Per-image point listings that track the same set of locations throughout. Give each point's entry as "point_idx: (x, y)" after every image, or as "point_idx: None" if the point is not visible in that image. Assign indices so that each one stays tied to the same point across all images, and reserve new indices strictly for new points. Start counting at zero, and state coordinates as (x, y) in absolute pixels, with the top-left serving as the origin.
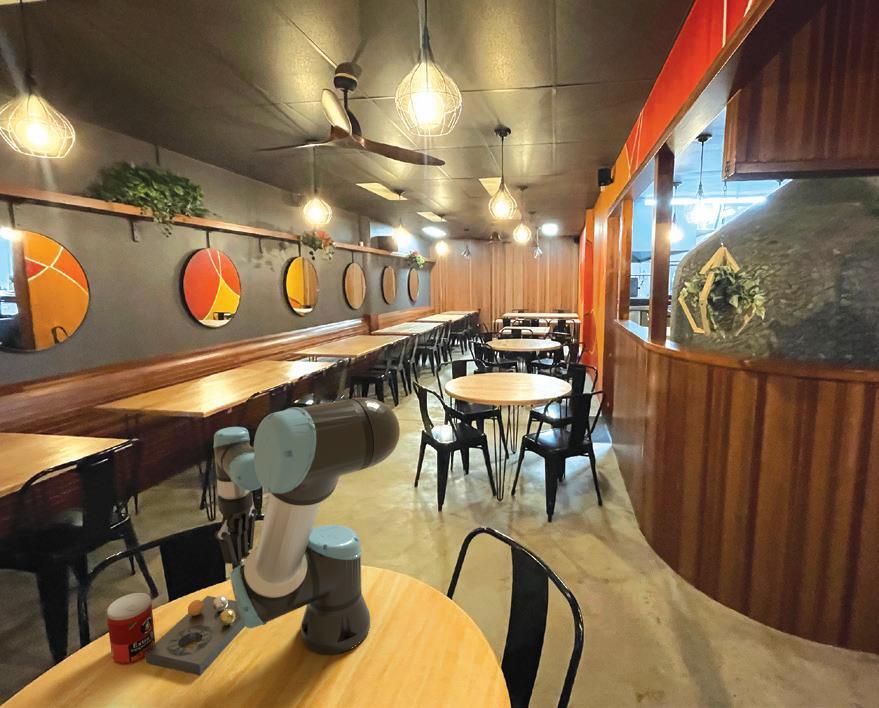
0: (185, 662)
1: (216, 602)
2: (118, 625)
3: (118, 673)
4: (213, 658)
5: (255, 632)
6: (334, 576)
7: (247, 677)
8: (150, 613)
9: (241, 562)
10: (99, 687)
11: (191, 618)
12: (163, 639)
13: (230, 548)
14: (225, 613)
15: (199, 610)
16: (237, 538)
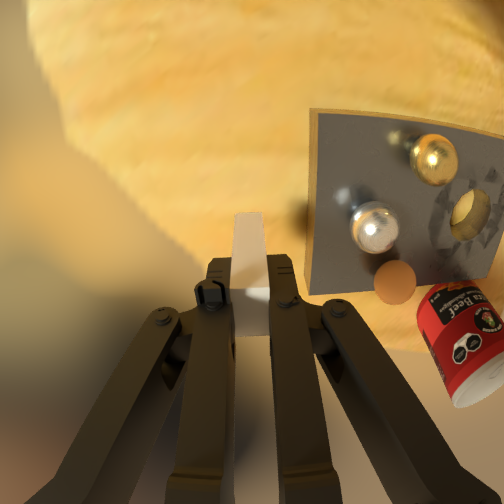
0: None
1: (398, 236)
2: None
3: (483, 284)
4: (482, 131)
5: (384, 64)
6: None
7: (495, 31)
8: (488, 338)
9: (269, 287)
10: (499, 286)
11: None
12: (461, 273)
13: (413, 405)
14: (456, 166)
15: (407, 264)
16: (326, 456)
